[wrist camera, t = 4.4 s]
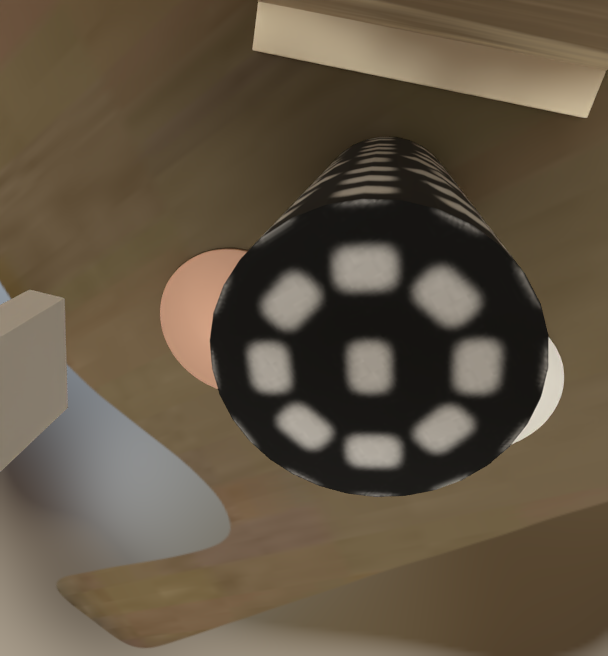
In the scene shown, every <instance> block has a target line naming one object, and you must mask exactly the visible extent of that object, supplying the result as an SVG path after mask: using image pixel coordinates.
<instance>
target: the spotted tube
mask: <svg viewBox="0 0 608 656" xmlns="http://www.w3.org/2000/svg"><path fill="white" fill-rule="evenodd" d="M210 350H211V362H212V370H213V373H214V377H215V380H216V384H217V387H218V390H219V394H220V396H221V398H222V400H223V402H224V404H225V406H226V408H227V409H228V411H229V413H230V415H231V417H232V419H233V420H234V422H235V423H236V424H237V425H238V427H239V428H240V429H241V431H242V432H243V433H244V434H245V436H246V437H247V438H248V439H249V441H250V442H252V443H253V444H254V445H255V446H256V447H257V448H258V449H259V450H260V451H261V452H263V453H264V454H265V455H266V456H267V457H268V458H269V459H270V460H272V461H274V462H275V463H277V464H278V465H280V466H281V467H283V468H284V469H286V470H287V471H289V472H291V473H292V474H294V475H296V476H298V477H301V478H303V479H305V480H307V481H310V482H312V483H314V484H316V485H319V486H322V487H325V488H329V489H333V490H336V491H340V492H344V493H348V494H356V495H365V496H373V497H384V496H406V495H412V494H417V493H422V492H427V491H433V490H436V489H439V488H441V487H444V486H447V485H450V484H452V483H455V482H458V481H461V480H463V479H464V478H466V477H468V476H470V475H471V474H473V473H475V472H477V471H478V470H480V469H482V468H484V467H485V466H487V465H488V464H490V463H491V462H492V461H493V460H494V459H495V458H497V457H498V456H499V455H500V454H501V453H503V452H504V451H505V450H506V449H507V448H508V447H510V445H511V444H512V443H513V442H514V440H515V439H516V438H517V437H518V435H519V434H520V433H521V432H522V430H523V429H524V428H525V427H526V425H527V424H528V422H529V420H530V418H531V416H532V414H533V412H534V410H535V408H536V406H537V404H538V402H539V400H540V398H541V396H542V392H543V388H544V383H545V379H546V375H547V371H548V332H547V328H546V324H545V320H544V316H543V312H542V308H541V304H540V302H539V300H538V298H537V296H536V294H535V292H534V290H533V288H532V286H531V284H530V283H529V281H528V279H527V277H526V275H525V273H524V272H523V271H522V269H521V268H520V267H519V265H518V264H517V263H516V261H515V260H514V259H513V257H512V256H511V255H510V254H509V252H508V251H507V250H506V248H505V247H504V246H503V244H502V243H501V242H500V240H499V239H498V238H497V236H496V235H495V234H494V233H493V231H492V230H491V229H490V227H489V226H488V225H487V223H486V222H485V221H484V219H483V218H482V217H481V215H480V214H479V213H478V212H477V210H476V209H475V208H474V206H473V205H472V204H471V202H470V201H469V200H468V198H467V197H466V196H465V194H464V193H463V192H462V191H461V189H460V188H459V187H458V185H457V184H456V183H455V181H454V180H453V179H452V177H451V176H450V175H449V173H448V172H447V171H446V170H445V168H444V167H443V166H442V164H441V163H440V162H439V161H438V160H437V159H436V157H435V156H434V155H433V154H432V153H430V152H429V151H428V150H426V149H425V148H424V147H422V146H420V145H418V144H416V143H414V142H412V141H410V140H406V139H402V138H397V137H378V138H372V139H367V140H365V141H362V142H360V143H357V144H355V145H353V146H351V147H350V148H348V149H347V150H345V151H344V152H342V153H341V154H340V155H339V156H338V157H337V158H336V159H335V160H334V161H333V162H332V163H331V164H330V165H329V166H328V167H327V169H326V170H325V171H324V172H323V173H322V174H321V175H320V176H319V177H318V178H317V179H316V180H315V181H314V182H313V183H312V184H311V185H310V186H309V187H308V188H307V189H306V191H305V192H304V193H303V194H302V195H301V196H300V197H299V198H298V199H297V200H296V201H295V202H294V203H293V204H292V205H291V206H290V207H289V208H288V209H287V210H286V212H285V213H284V214H283V215H282V216H281V217H280V218H279V219H278V220H277V221H276V222H275V223H274V224H273V225H272V226H271V227H270V228H269V229H268V230H267V231H266V233H265V234H264V235H263V236H262V237H261V238H260V239H259V240H258V241H257V242H256V243H255V244H254V245H253V246H252V247H251V248H250V249H249V250H248V251H247V252H246V254H245V255H244V256H243V257H242V258H241V259H240V260H239V262H238V263H237V265H236V266H235V268H234V269H233V271H232V273H231V274H230V276H229V277H228V279H227V280H226V282H225V284H224V285H223V288H222V291H221V293H220V296H219V299H218V302H217V304H216V307H215V310H214V312H213V320H212V327H211V335H210Z"/></svg>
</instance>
